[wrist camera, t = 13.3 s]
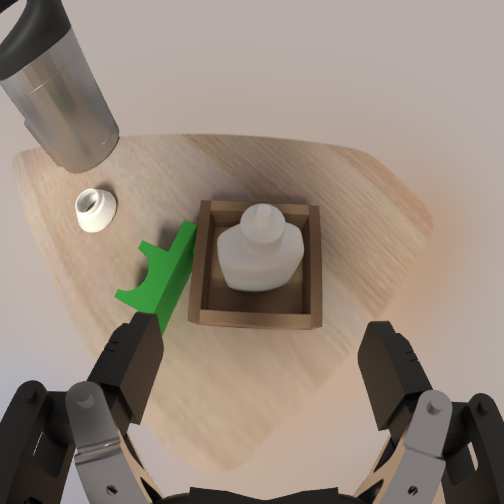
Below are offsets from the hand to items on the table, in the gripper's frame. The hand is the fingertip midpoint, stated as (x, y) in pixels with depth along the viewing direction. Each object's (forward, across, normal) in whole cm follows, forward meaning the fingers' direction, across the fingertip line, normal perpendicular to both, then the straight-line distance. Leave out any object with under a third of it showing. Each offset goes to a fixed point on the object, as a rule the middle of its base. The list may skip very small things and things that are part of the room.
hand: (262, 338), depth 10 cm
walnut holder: (+14, 0, +6) cm, 15 cm away
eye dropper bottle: (+14, 0, +5) cm, 15 cm away
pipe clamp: (+13, +9, +7) cm, 17 cm away
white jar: (+19, +18, +2) cm, 26 cm away
